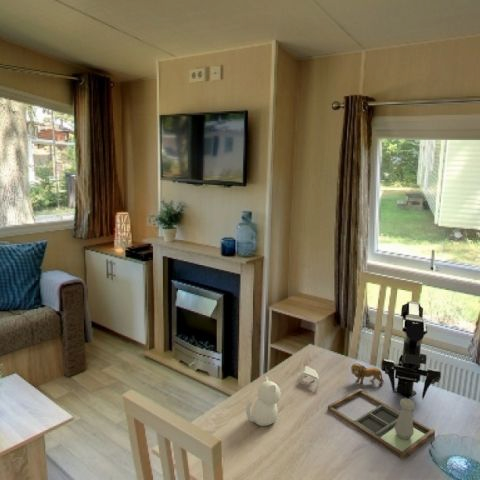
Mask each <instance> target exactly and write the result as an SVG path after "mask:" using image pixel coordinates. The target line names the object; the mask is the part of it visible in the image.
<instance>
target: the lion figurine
mask: <svg viewBox="0 0 480 480" xmlns="http://www.w3.org/2000/svg"><path fill="white" fill-rule="evenodd" d="M350 370H351V371H350V372H351V374H352V375H354V376H355V377H356V378H357V379H355V382H358V383H359V386H363V383H364V379H365V378H370V377H372V378H370V382H371V383H372V382H374V381H376V380H377V381H378V385H379V386H383V382H385V380H384V379H383V374H382V372H381V371H382V370H381V369H379V368H376V367H369V368H367V367H365V365H362V364H361V363H356V362H355V363H353V364H352V365H351V367H350ZM359 381H360V382H359Z"/></svg>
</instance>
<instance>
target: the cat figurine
mask: <svg viewBox="0 0 480 480" xmlns="http://www.w3.org/2000/svg"><path fill="white" fill-rule="evenodd" d="M281 395H282V392H281V389H280V387H279V385H278V384H277V383H276V382H274V381H271V380H269V378H268V376H266V375H265V376H264V379H263V381H262V382H261V383H260V384H259V386H258V389H257V398H258V399H256V401H255V402H254V403H253V405H252V400H251V399H249V400H248V401H247V403H246V407H245V411H246V412H245V413H246V418H247V419H248V420H249V421H250V422H251V423H255V424H256V425H258V426H260V427H267V426H269V425H271V424H274V423H276V422H277V420H278V416H279V413H278V412H279V411H278V409H279V408H278V405H277V403H278V402H279V401H280V398H281ZM251 406H252V407H251ZM251 408H252V409H251Z"/></svg>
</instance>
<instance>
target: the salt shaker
mask: <svg viewBox="0 0 480 480" xmlns="http://www.w3.org/2000/svg"><path fill="white" fill-rule="evenodd" d="M399 406H400V407H401V408H400V411H399V412H400V414H399V416H398V419H397V422H396V425H395V426H394V427H395V431H396V435H397V436H398V437H399V438H400V439H403V440H408V439H410V438H411V436H412V435H413V433H414V431H413V428H414V426H413V420H414V419H413V410H414V409H415V402H414V401H413V399H410V398H406V397H404V398H401V400H400V403H399Z"/></svg>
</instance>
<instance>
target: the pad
mask: <svg viewBox="0 0 480 480" xmlns="http://www.w3.org/2000/svg"><path fill="white" fill-rule="evenodd" d="M413 431H414V433H413V435H412V436H411V438H410V439H408V440H403V439H400V438H399V437H398V436H397V435H396V431H395V426H394V427H393V428H391V429H390V430H388V431H387V432H385V433H384V434H382V435H381V436H379V438H381V439H383V440H384V441H386V442H387V443H389V444H390V445H392V446H393V447H395V448H397V449H398V450H400V451H401V452H402V451H404V450H405V449H406V448H408V447H409V446H410V445H412V444H413V443H414V442H416V441H417V440H418V439H420V438H421V437H422V436H424V435H425V434H426V433H425V432H423V431H421V430H420V429H419V430H418V428H417V429H416V428H415V427H413Z"/></svg>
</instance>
